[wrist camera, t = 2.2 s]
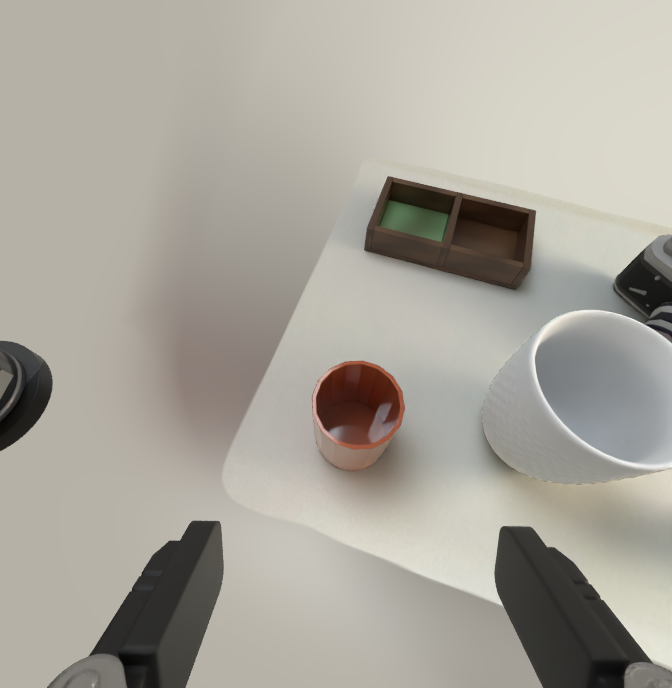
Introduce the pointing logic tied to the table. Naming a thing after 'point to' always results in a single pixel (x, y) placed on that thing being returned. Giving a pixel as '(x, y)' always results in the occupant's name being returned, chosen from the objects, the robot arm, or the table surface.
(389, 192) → the holder
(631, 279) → the camera
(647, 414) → the mug
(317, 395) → the cup
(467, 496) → the table surface
